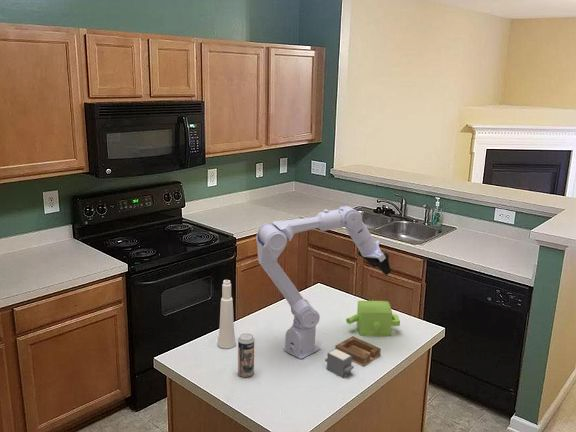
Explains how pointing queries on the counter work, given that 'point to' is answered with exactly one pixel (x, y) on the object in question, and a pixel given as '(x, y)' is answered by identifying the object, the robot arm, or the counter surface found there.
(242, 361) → the beer can
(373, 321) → the gearbox
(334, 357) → the block
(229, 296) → the cosmetic bottle
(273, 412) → the counter surface
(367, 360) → the pocket block
